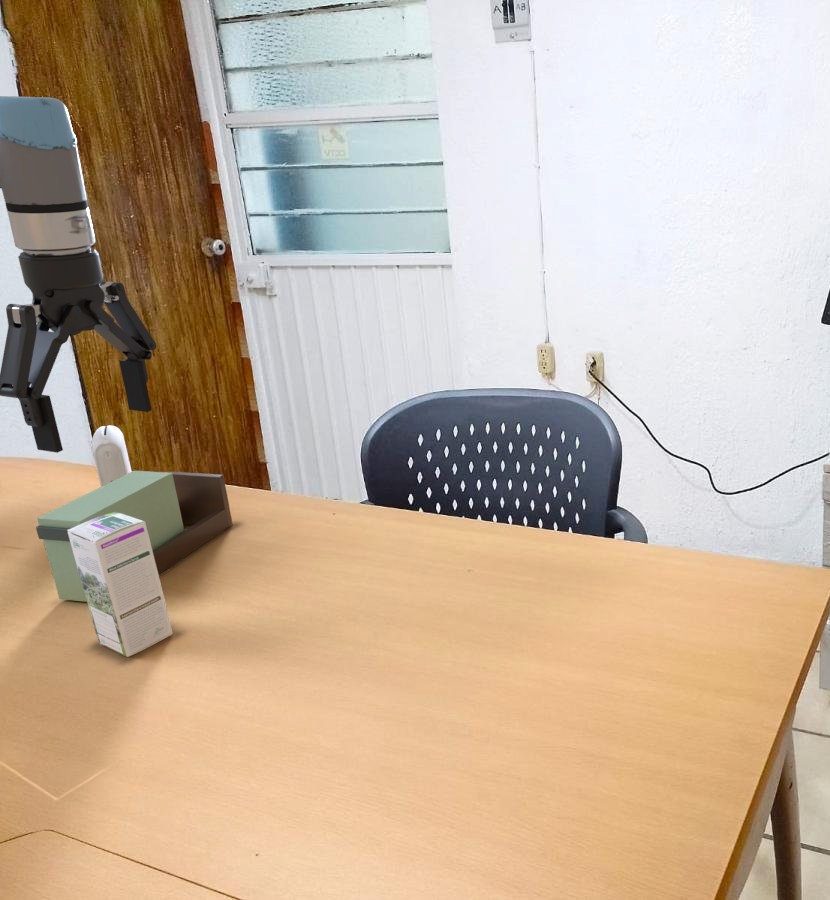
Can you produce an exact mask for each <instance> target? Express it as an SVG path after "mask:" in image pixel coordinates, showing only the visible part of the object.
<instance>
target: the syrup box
mask: <svg viewBox="0 0 830 900" xmlns="http://www.w3.org/2000/svg"><path fill="white" fill-rule="evenodd" d="M67 531H68V536H69V539H70V543H71V546H72V550H73V554H74V557H75V561H76V564H77V568H78V571H79V575H80V578H81V582H82V585H83V589H84V593H85V596H86V600H87V602H86V603H87V607H88V610H89V613H90V617H91V621H92V624H93V627H94V631H95V635H96V639H97V642H98V645H100V646H102V647H105V648H107V649H109V650H111V651H113V652H115V653H117V654H119V655H121V656H124V657H126V658H129V657H132V656H133V655H136V654H138V653H141V652H142V651H144V650H146V649H148V648H150V647H152V646H153V645H156V644H157V643H159V642H161V641H163V640H165V639H167V638H169V637H170V636H172V635H173V628H172V624H171V620H170V616H169V611H168V607H167V604H166V603H167V602H166V599H165V596H164V591H163V587H162V583H161V579H160V574H159V575H158V571H157V567H156V563H155V559H154V555H153V551H152V547H151V543H150V539H149V535H148V531H147V527H146V523H145V521H142V520H139V519H136V518H133V517H130V516H127V515H124V514H121V513H118V512H114V513H110V514H106V515H103V516H100V517H97V518H94V519H92V520H89V521H87V522H84V523H82V524H80V525H78V526H76V527H74V528H72V529H69V530H67Z"/></svg>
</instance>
